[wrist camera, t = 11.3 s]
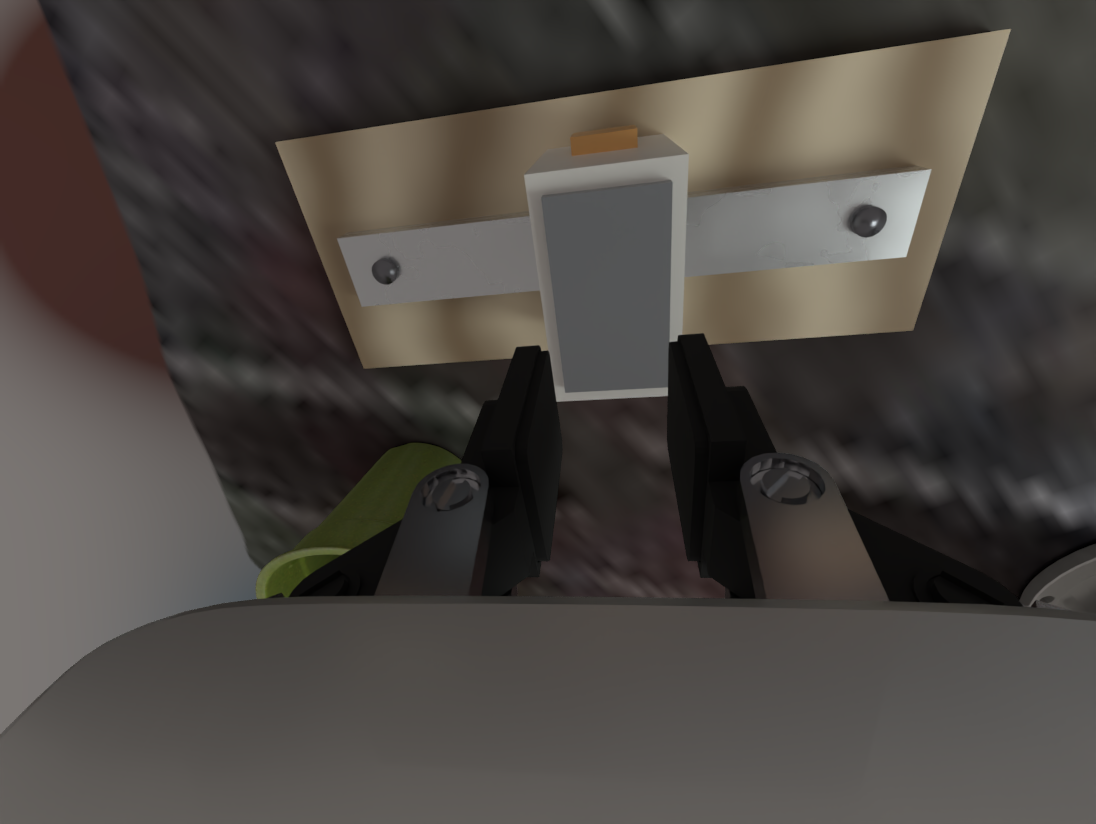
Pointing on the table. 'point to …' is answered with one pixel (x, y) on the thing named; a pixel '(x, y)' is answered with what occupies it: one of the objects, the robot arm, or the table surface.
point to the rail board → (714, 162)
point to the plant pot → (356, 515)
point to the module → (610, 260)
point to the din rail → (711, 237)
